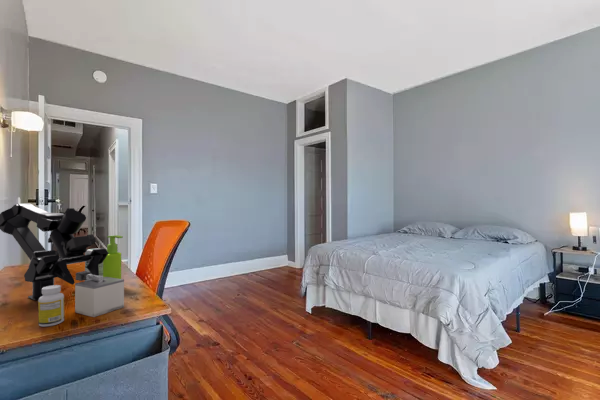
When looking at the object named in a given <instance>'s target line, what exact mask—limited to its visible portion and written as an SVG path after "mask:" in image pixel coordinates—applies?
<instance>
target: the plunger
mask: <svg viewBox="0 0 600 400" xmlns="http://www.w3.org/2000/svg"><path fill="white" fill-rule="evenodd" d="M75 280H76V281H79V282H84V281H85V280H94V281H98V283H100V282H103V276H98V275H92V274H91V272H88V271H85V270H84V271H83V270H82V271H78V272H77V271H76V272H75Z"/></svg>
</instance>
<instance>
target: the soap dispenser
mask: <svg viewBox="0 0 600 400" xmlns="http://www.w3.org/2000/svg"><path fill="white" fill-rule="evenodd" d="M123 237H124V236H122V235H117V234H115V235H107V237H106V238H108V239H109V243H108V244H107V246H106V249H107V251H108V253H109V254H108V255H107V257H106V258H105V259H104V261H103V277H111V278H118V279H122V252H119V251H118V250H119V249H118V247H119V246H118V244H117V243H116V239H123Z"/></svg>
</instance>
